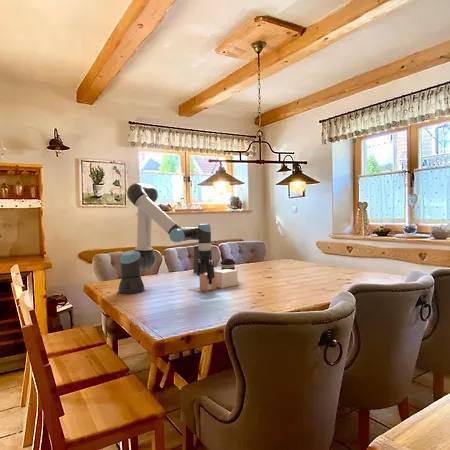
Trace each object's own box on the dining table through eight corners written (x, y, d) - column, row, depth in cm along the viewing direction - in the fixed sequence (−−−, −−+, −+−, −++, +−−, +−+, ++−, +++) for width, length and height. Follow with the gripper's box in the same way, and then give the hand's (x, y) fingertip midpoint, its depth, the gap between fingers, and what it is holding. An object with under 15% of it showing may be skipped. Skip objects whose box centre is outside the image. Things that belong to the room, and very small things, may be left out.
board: (201, 294, 200) (201, 293, 200) (187, 290, 211) (187, 289, 211) (240, 286, 220) (240, 285, 220) (225, 283, 230) (225, 282, 230)
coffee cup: (234, 283, 230) (233, 260, 229) (219, 283, 232) (218, 260, 231) (236, 280, 240) (236, 258, 239) (222, 280, 242) (222, 258, 241)
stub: (206, 290, 207) (205, 274, 207) (199, 289, 212) (199, 273, 211) (216, 288, 212) (216, 273, 212) (210, 286, 217) (210, 271, 217)
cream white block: (221, 288, 213) (221, 272, 213) (212, 285, 220) (212, 271, 220) (237, 284, 222) (237, 270, 221) (228, 282, 228) (227, 268, 228)
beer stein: (190, 272, 274) (191, 246, 272) (195, 270, 284) (196, 245, 283) (209, 274, 269) (210, 248, 268) (213, 272, 279) (215, 246, 278)
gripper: (220, 250, 205) (221, 290, 206) (200, 248, 220) (201, 285, 221) (210, 251, 200) (211, 292, 201) (190, 249, 215) (191, 287, 216)
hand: (205, 288), depth 211 cm, fingers closed on stub, 6 cm apart
